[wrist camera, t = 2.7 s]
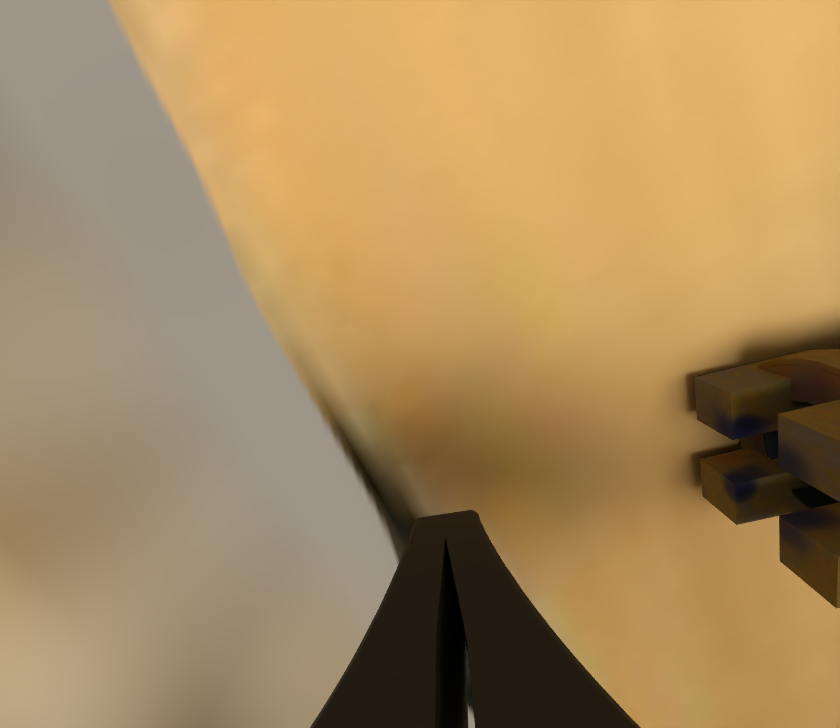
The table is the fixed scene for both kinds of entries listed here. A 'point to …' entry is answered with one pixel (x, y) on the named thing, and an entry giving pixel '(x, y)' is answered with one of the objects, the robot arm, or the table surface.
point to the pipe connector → (781, 456)
